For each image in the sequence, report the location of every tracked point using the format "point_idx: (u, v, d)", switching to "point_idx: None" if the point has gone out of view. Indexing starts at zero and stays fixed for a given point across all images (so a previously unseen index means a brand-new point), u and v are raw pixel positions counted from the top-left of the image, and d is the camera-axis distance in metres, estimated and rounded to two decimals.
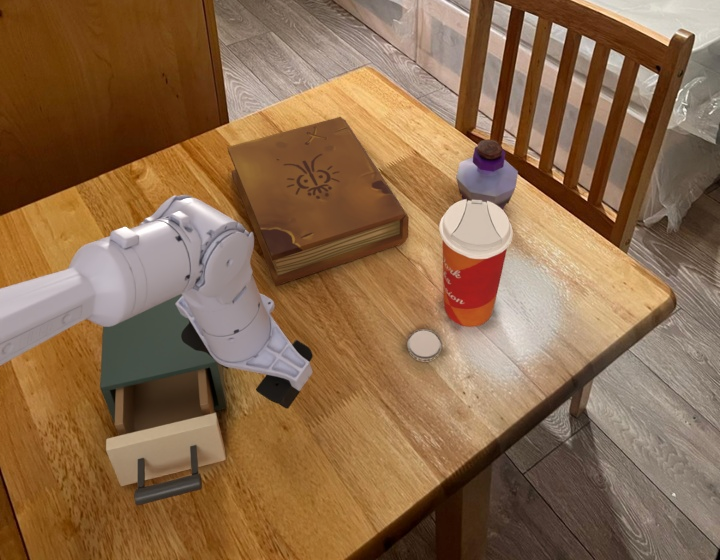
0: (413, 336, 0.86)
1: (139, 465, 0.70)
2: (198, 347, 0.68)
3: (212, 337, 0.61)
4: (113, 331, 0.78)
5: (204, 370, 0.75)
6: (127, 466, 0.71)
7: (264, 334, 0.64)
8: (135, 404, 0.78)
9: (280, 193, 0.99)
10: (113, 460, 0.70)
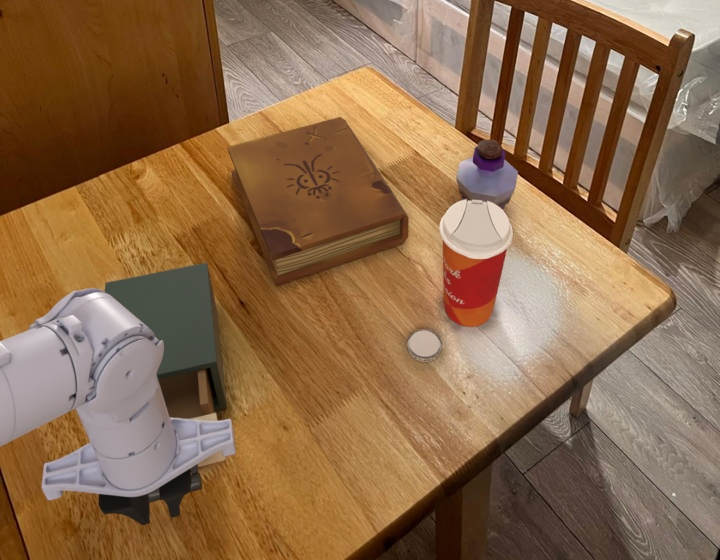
0: (413, 336, 0.86)
1: None
2: (130, 503, 0.57)
3: (137, 457, 0.53)
4: None
5: (204, 370, 0.75)
6: None
7: (172, 428, 0.58)
8: None
9: (280, 193, 0.99)
10: None
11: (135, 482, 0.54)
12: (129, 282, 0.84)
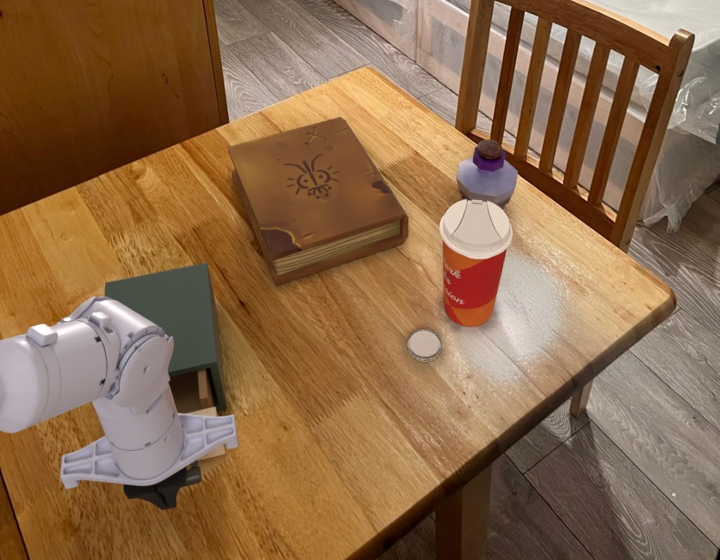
0: (413, 336, 0.86)
1: None
2: (152, 489, 0.62)
3: (148, 449, 0.58)
4: None
5: None
6: None
7: (180, 423, 0.63)
8: None
9: (280, 193, 0.99)
10: None
11: (146, 472, 0.59)
12: (129, 282, 0.84)
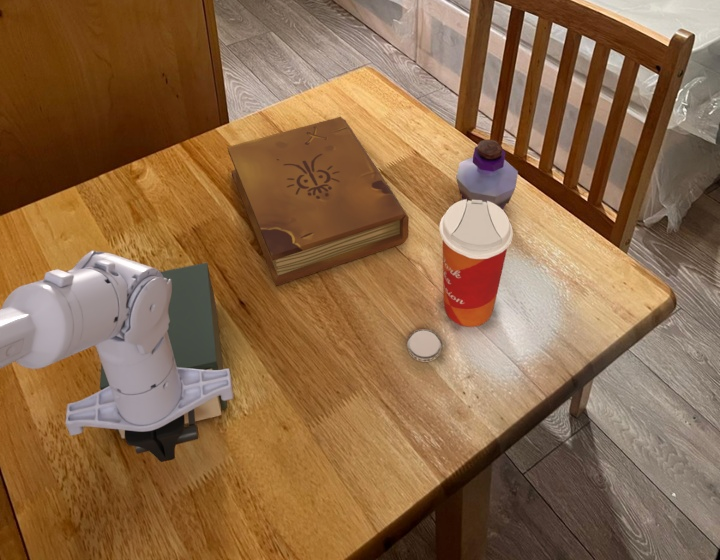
0: (413, 336, 0.86)
1: None
2: (152, 436, 0.66)
3: (148, 394, 0.62)
4: None
5: None
6: None
7: None
8: None
9: (280, 193, 0.99)
10: None
11: (146, 418, 0.63)
12: None
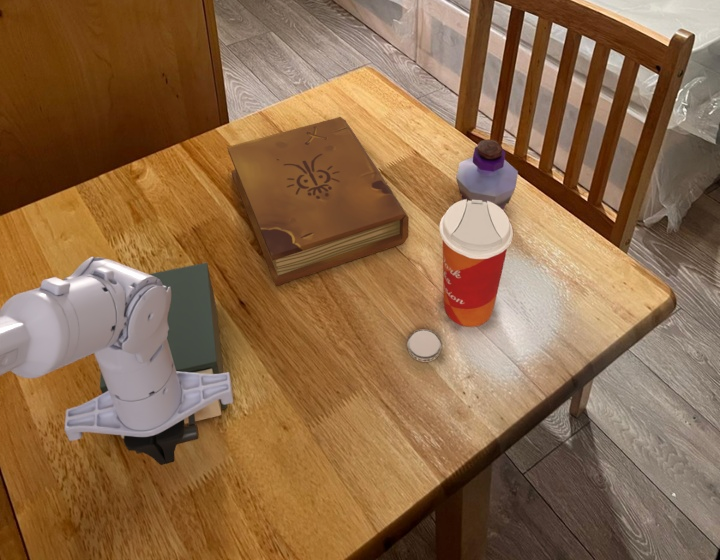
0: (413, 336, 0.86)
1: None
2: (151, 441, 0.65)
3: (148, 400, 0.61)
4: None
5: None
6: None
7: (178, 379, 0.66)
8: None
9: (280, 193, 0.99)
10: None
11: (146, 423, 0.63)
12: None
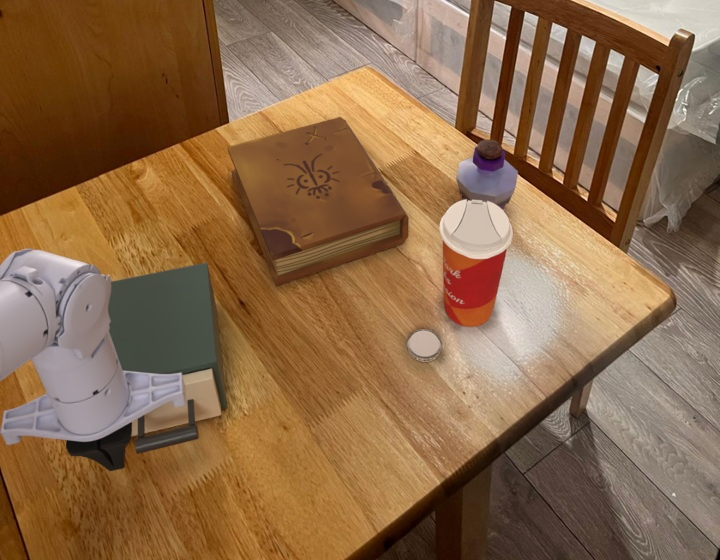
0: (413, 336, 0.86)
1: None
2: (96, 446, 0.60)
3: (88, 402, 0.56)
4: (113, 331, 0.78)
5: None
6: None
7: (125, 379, 0.61)
8: None
9: (280, 193, 0.99)
10: None
11: (87, 427, 0.58)
12: (129, 282, 0.84)
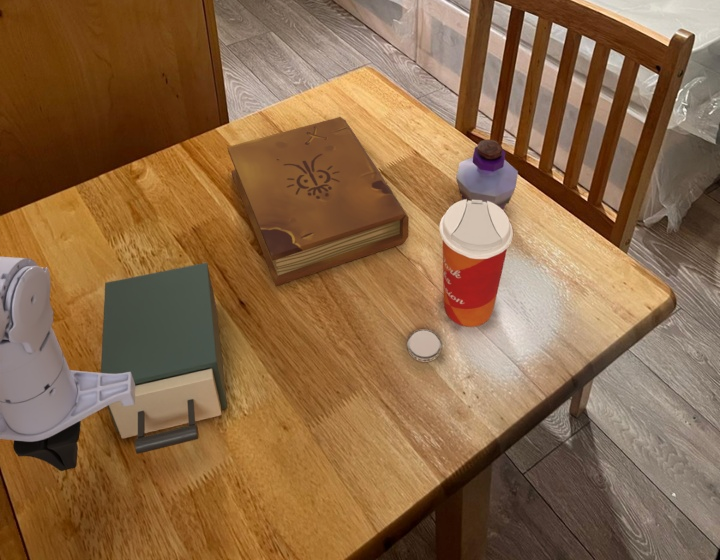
0: (413, 336, 0.86)
1: (139, 417, 0.74)
2: (43, 446, 0.60)
3: (31, 402, 0.57)
4: (113, 331, 0.78)
5: None
6: (128, 418, 0.75)
7: (73, 379, 0.61)
8: None
9: (280, 194, 0.99)
10: (115, 412, 0.74)
11: (32, 427, 0.58)
12: (129, 282, 0.84)
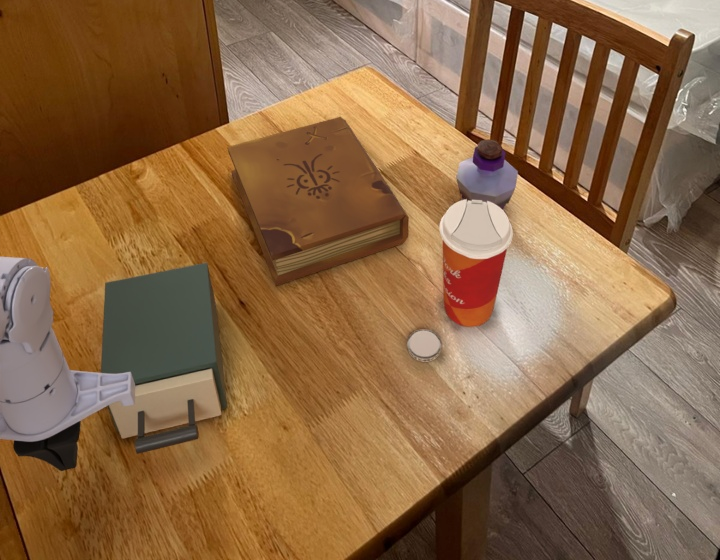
0: (413, 336, 0.86)
1: (139, 417, 0.74)
2: (43, 446, 0.60)
3: (31, 402, 0.57)
4: (113, 331, 0.78)
5: None
6: (128, 418, 0.75)
7: (73, 379, 0.61)
8: None
9: (280, 193, 0.99)
10: (115, 412, 0.74)
11: (32, 427, 0.58)
12: (129, 282, 0.84)
